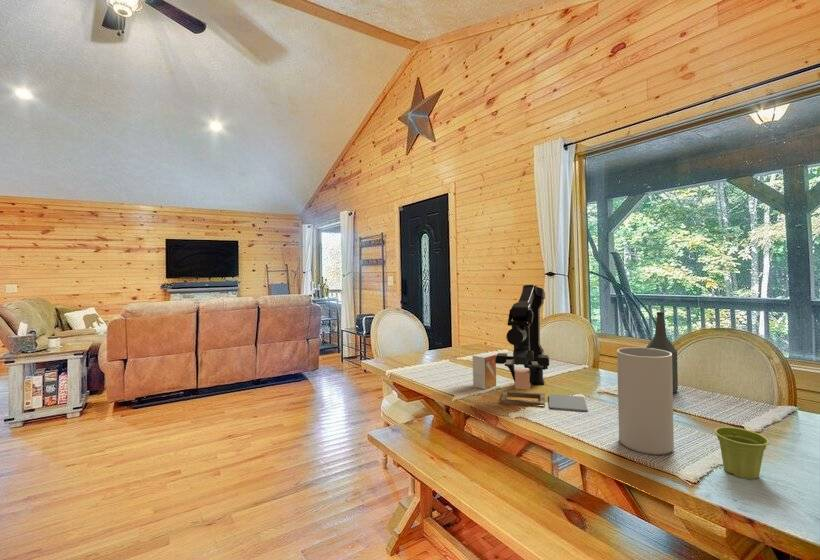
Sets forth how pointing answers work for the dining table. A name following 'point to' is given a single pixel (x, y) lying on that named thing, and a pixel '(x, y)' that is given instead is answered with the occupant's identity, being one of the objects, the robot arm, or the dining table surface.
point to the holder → (523, 402)
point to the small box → (484, 370)
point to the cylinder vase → (645, 400)
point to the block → (522, 378)
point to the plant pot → (741, 451)
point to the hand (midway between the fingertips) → (522, 382)
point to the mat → (567, 403)
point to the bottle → (665, 346)
